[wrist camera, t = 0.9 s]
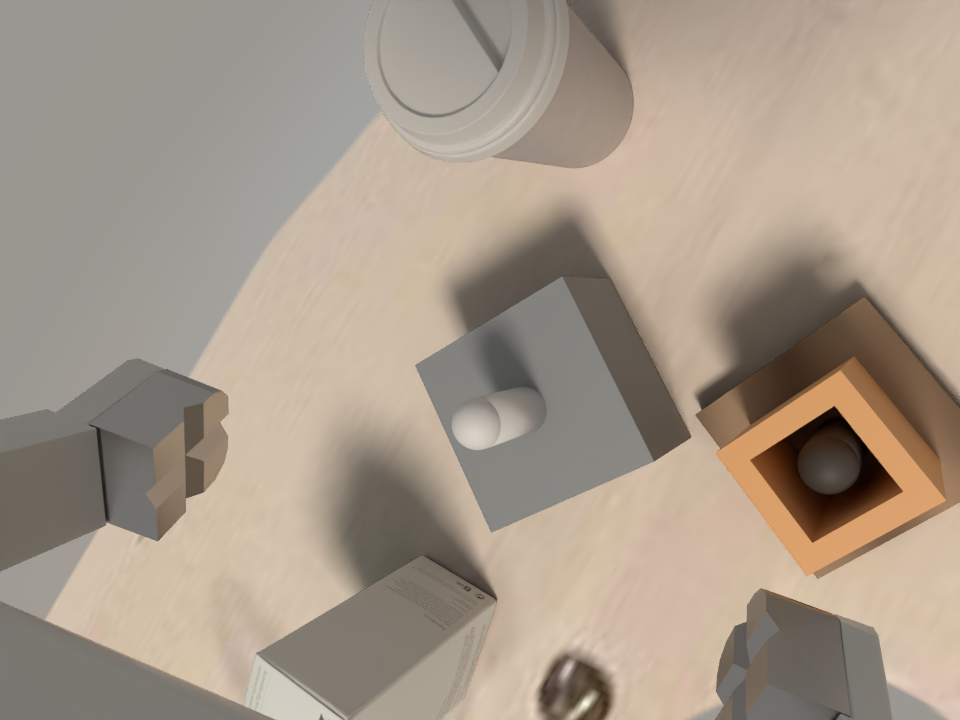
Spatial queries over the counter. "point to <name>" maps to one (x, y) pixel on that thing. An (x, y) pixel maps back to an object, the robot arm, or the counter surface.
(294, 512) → the counter surface
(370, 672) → the skincare box
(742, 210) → the counter surface
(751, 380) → the stand
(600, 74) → the coffee cup
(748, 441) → the sleeve
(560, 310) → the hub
